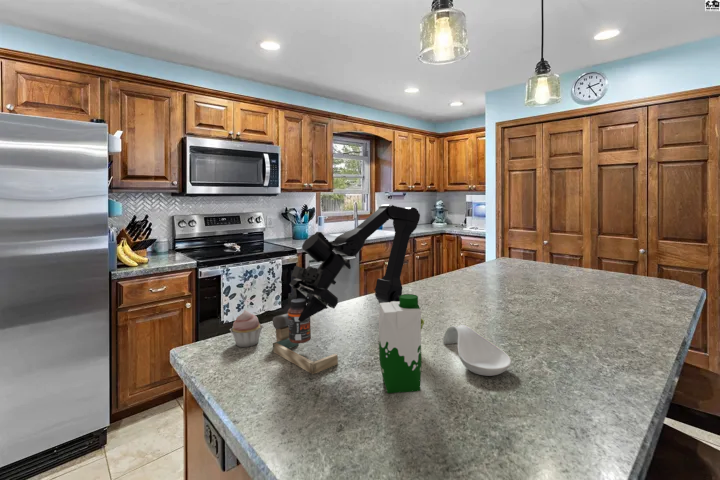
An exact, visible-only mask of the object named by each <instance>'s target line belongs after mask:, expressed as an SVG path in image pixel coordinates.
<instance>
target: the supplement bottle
mask: <svg viewBox="0 0 720 480" xmlns="http://www.w3.org/2000/svg"><path fill="white" fill-rule="evenodd" d="M306 305H307V304H306V300H305V299H302V298H299V299H291V300H290V307H291V308H290V307H289V308H288V310H287V312H288V325H289V340H290V341H291V342H292V343H298V344H304V343H307V342H309V341H310V340H311V338H312V330H311V317H309V318H307V319H306V320H304V321H302V322H300V321H299V320H298V319H299V317H300V315H301V313H302V311H303V310H304V308H305V306H306Z"/></svg>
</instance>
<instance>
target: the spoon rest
mask: <svg viewBox="0 0 720 480" xmlns="http://www.w3.org/2000/svg"><path fill="white" fill-rule="evenodd" d="M442 342H443V344H444V345H452V344H457V354H458V357H459V359H460V362H461V363H462V365H463V366H464V367H465V368H466V369H467V370H468V371H470V372H472V373H473V374H476V375H480V376H487V377H488V376H489V377H491V376H492V377H493V376H498V375H500V374H503V373H504V372H506V371H507V370H508V369H509V368H510V367H511V365H512V359H511V357H510V356H509V354H507V352H505V351H504V350H503V349H501V348H500V347H498V346H497V345H496V344H494V343H492V342H491V341H490V340H488V339H487V338H485V337H484V336H482V335H481V334H479V333H478V332H477V331H476V330H474V329H473V328H471V327H469V326H468V325H466V324H460V325H451V326H449V327H448V328H447V329H446V331H445V333H444V335H443V341H442Z"/></svg>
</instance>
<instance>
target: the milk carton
mask: <svg viewBox="0 0 720 480" xmlns="http://www.w3.org/2000/svg"><path fill="white" fill-rule="evenodd" d="M378 308H379V309H378V310H379V312H378V353H379V357H378V359H379V366H380V371H381V375H382V376H381V377H382V380H383V383H384V386H385V390H386V393H387V394H396V393H397V394H398V393H411V392H412V393H413V392H420V391H421V381H422V380H421V378H422V329H421V318H422V310H421V308H420V305H419V296H418V295H417V294H413V293H412V294H410V293H406V294H405V293H404V294H402V295H400V297H399V301H397V302H396V301H391V302H386V303H380V304H379V307H378Z"/></svg>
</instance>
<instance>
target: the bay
mask: <svg viewBox="0 0 720 480" xmlns="http://www.w3.org/2000/svg"><path fill="white" fill-rule="evenodd" d="M296 346H299V344H298V343H292V342H291V341H290V340H289V338H288V339H284V340H281V341H278V342H276V341H275V342H272V353H274V354H276V355H278V356H280V357H281V358H283V359H285V360H286V361H288V362H290V363H292V364H294V365H296V366H297V367H299V368H301V369H303V370H304V371H306V372H307V373H308V374H309V373H310V374H312V375H315V374H317V373H319V372H322V371H324V370H325V371H326V370H327V369H329V368H332V367H335V366H337V365H339V361H338V358H339V356H338V354H337V353H333V354H330V355H328V356H326V357H323V358H319V359H318V360H315V361H313V360H311V359H309V358H307V357H305V356H303V355H301V354H299V353H297V352H296V351H293V350H291V348H294V347H296Z"/></svg>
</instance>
